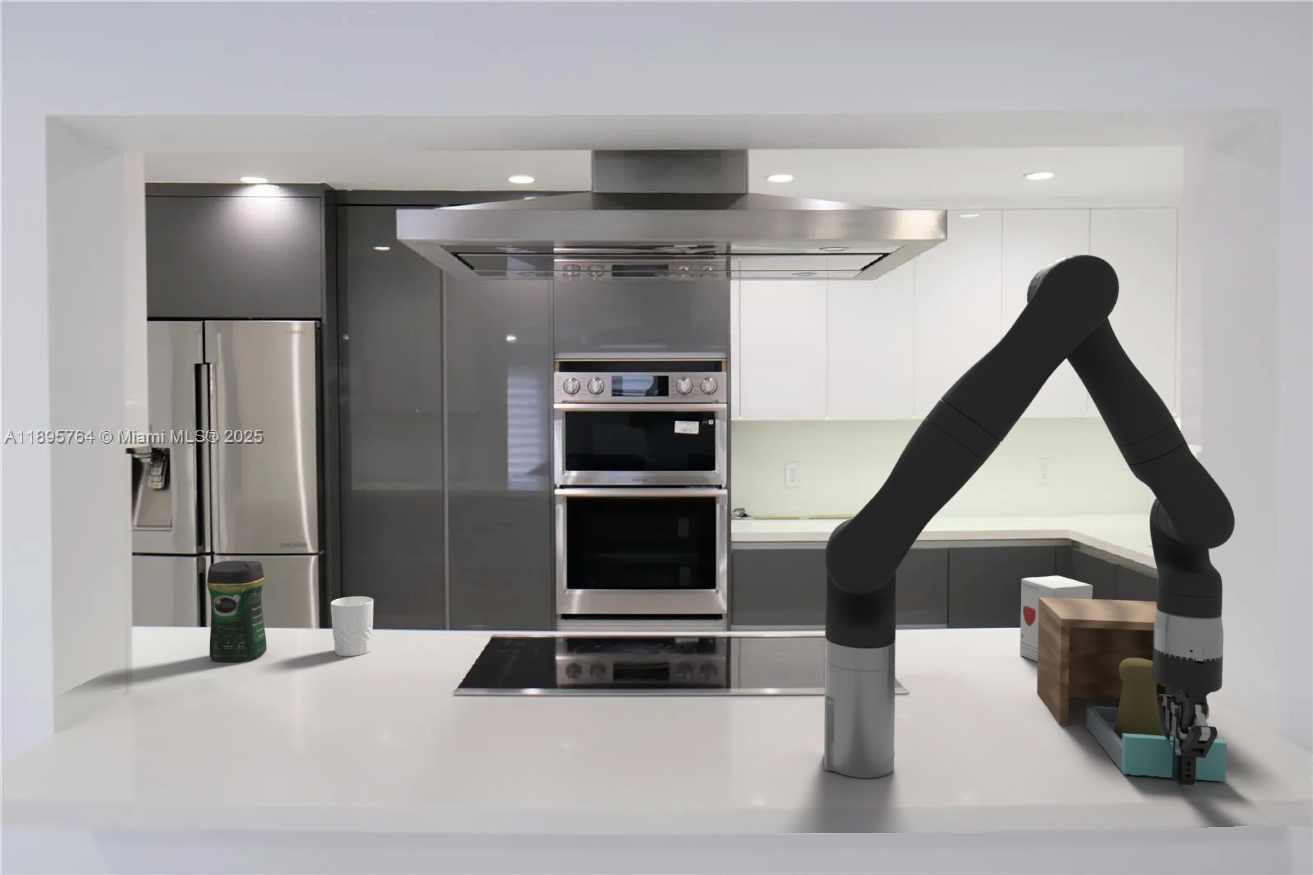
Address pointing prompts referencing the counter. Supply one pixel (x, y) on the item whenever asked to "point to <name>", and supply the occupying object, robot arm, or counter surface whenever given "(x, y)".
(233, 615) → the coffee jar
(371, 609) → the white cup
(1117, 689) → the wooden drawer cabinet
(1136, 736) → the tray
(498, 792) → the counter surface
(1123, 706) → the olive pawn figure
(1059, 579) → the supplement box
